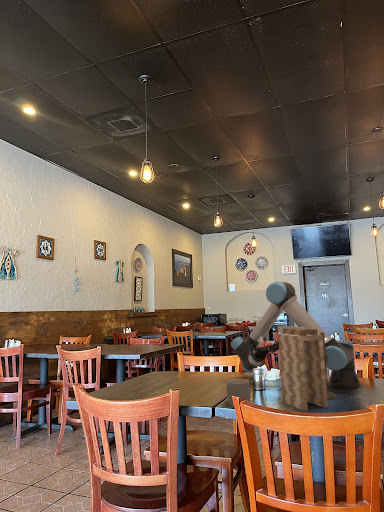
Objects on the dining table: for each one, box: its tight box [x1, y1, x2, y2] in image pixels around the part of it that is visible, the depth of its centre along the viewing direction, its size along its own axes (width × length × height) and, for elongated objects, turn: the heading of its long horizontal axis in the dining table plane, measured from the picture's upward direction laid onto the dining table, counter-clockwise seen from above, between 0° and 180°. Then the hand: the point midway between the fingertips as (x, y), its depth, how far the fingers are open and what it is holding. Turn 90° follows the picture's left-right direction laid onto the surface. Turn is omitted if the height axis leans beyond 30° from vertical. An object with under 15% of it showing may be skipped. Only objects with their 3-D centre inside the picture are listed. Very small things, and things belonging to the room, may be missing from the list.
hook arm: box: [274, 324, 309, 335], centre depth 179 cm, size 23×4×4 cm, turn 18°
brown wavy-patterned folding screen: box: [278, 328, 329, 412], centre depth 171 cm, size 16×12×32 cm
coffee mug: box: [226, 378, 252, 407], centre depth 175 cm, size 13×10×10 cm
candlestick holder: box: [320, 332, 338, 400], centre depth 182 cm, size 9×9×30 cm
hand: (273, 338), depth 193 cm, fingers open, 13 cm apart
